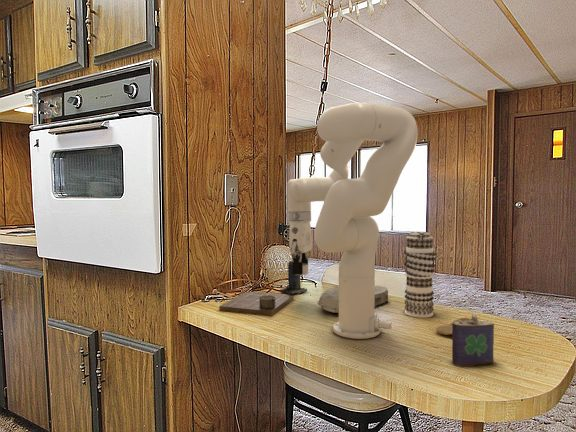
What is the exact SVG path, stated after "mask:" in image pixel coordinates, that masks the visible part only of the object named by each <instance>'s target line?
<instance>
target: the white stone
mask: <svg viewBox="0 0 576 432" xmlns="http://www.w3.org/2000/svg"><path fill="white" fill-rule="evenodd" d="M294 275H296V274H294ZM304 275H305V276H307V275H309V263H308V264H305V263H303V274H302V275H301V276H304Z"/></svg>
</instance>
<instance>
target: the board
mask: <svg viewBox="0 0 576 432" xmlns="http://www.w3.org/2000/svg"><path fill="white" fill-rule="evenodd" d="M266 295H270V296H274V297H275V307H274V308H272V309H262V308H260V307H259V297H261V296H266ZM292 301H294V294H293V295H292V294H283V293H282V294H281V293H270V292H259V291H245V292H242V293H241V294H239V295H238V296H236V297H233V298H232V299H230V300H228V301H227V302H224V303H223V304H220V305H219V307H218V308H219V312H230V313H238V314H248V315H256V316H266V317H267V316H268V317H273V316H274V315H275V314H276V313H277V312H279V311H280V310H281V309H284V307H286V306H287V305H288V304H290V303H291V302H292Z"/></svg>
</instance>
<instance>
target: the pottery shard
mask: <svg viewBox="0 0 576 432" xmlns="http://www.w3.org/2000/svg"><path fill="white" fill-rule="evenodd" d="M470 319H471V318H470V317H459V318H457V319H455V320H454V321H452V322H450V323H449V324H447V325H446V324H444V325H438V326H436V327H435V332H436V333H437V334H440V335H445V336H450V335H452V330H453V329H452V324H453V323H454V322H459V320H461V322H465V321H468V320H470Z"/></svg>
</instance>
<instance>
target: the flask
mask: <svg viewBox="0 0 576 432" xmlns="http://www.w3.org/2000/svg"><path fill="white" fill-rule="evenodd" d="M478 319H480V317H479V316H477V315H476V314H471V318H470V320H468V321H465V322H461V320H459V322H454V321H453V322H454V323H453V324H452V329H453V330H452V334H451V336H452V339H451V340H452V343H451V349H452V352H451V353H452V355H451V356H452V357H451V358H452V364H453V365H454V366H458V367H474V366H486V365H487V366H489V365H491V364H494V359H495V358H494V346H495V345H494V343H495V341H494V339H495V329H494V328H495V324H494V322H493V321H489V320H483V321H479V320H478Z"/></svg>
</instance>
